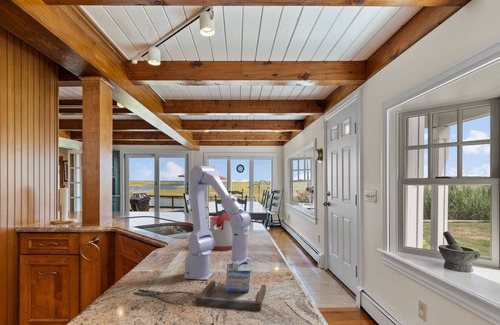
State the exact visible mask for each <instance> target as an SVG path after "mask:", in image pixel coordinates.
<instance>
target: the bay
mask: <svg viewBox="0 0 500 325" xmlns="http://www.w3.org/2000/svg"><path fill="white" fill-rule="evenodd" d="M215 287H216V280H210V282H209V283H208V284H207V285H206V286H205V288H204V289H203V290H202V291H201V292H200V293H199V295H198V296H197V297H196V305H197V306H207V307H208V306H209V307H220V308H227V309H239V310H240V309H241V310H249V311H262V307H263V303H264V300H265V295H266V292H267V285H266V284H261V286H260V289H259V293H258V296H257V299H256V301H255V300H243V299H233V298H226V297H225V298H224V297H215V296H213V297H212V296H210V294H211V293H212V291H213V290H214V289H215Z"/></svg>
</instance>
